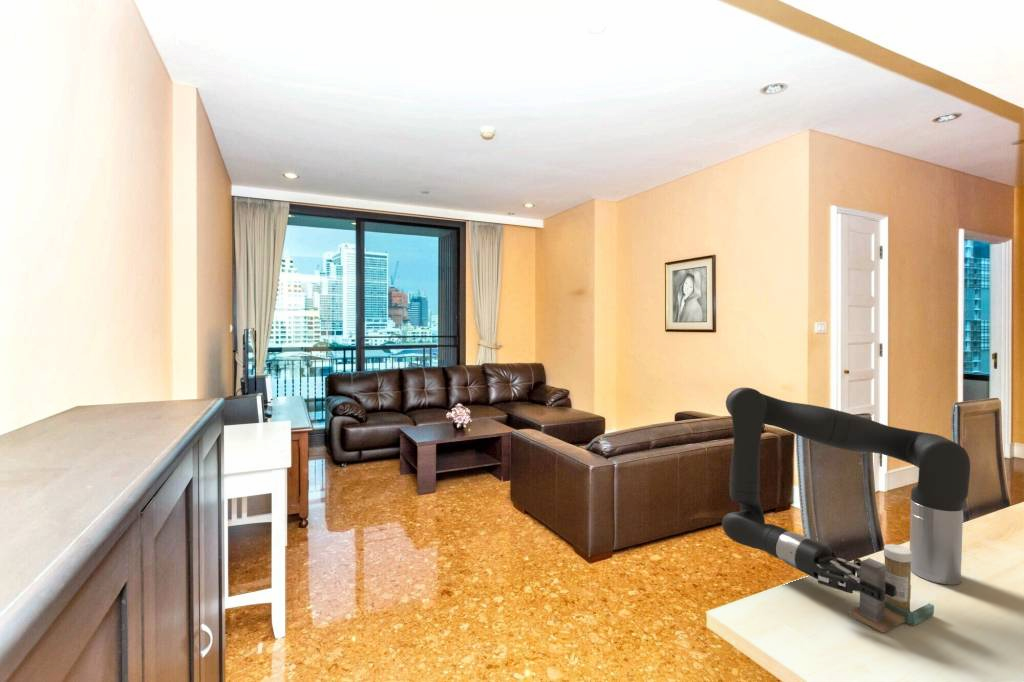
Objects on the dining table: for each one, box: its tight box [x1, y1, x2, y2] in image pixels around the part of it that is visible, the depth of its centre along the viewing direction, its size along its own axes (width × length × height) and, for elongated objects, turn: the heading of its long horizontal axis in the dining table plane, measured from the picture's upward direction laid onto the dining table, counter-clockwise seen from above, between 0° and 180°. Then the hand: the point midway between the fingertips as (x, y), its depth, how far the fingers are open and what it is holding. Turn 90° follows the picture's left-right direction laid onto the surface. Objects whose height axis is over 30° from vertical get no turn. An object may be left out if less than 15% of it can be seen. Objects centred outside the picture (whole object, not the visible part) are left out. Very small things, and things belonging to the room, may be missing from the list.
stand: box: [849, 557, 935, 634], centre depth 98 cm, size 16×9×12 cm, turn 115°
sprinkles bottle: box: [883, 543, 912, 612], centre depth 99 cm, size 5×5×14 cm
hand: (889, 594), depth 92 cm, fingers closed on stand, 3 cm apart
